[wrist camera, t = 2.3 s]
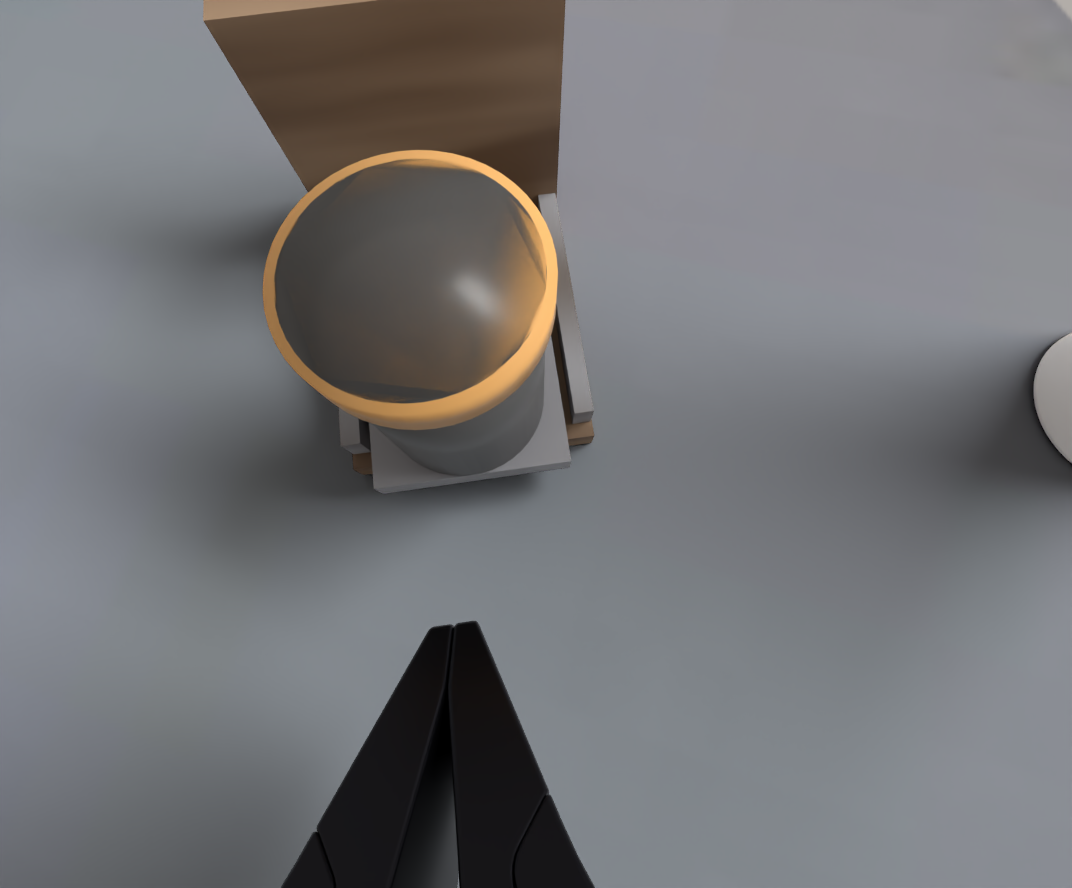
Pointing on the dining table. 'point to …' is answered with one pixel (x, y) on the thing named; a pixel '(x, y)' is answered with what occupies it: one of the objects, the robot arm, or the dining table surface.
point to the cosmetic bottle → (1056, 395)
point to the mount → (416, 112)
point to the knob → (425, 316)
